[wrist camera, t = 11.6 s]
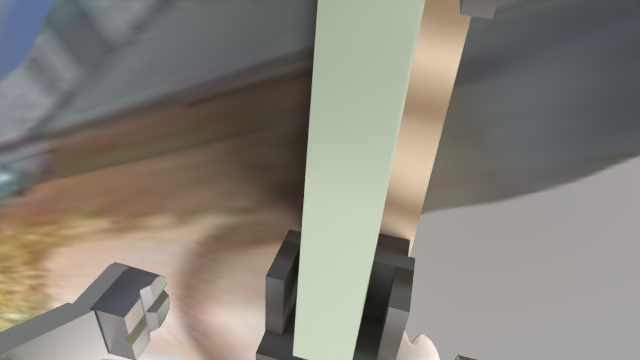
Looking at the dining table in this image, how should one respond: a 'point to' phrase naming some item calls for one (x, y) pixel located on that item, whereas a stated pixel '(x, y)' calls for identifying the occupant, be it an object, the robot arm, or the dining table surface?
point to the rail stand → (388, 196)
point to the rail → (349, 163)
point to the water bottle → (417, 349)
